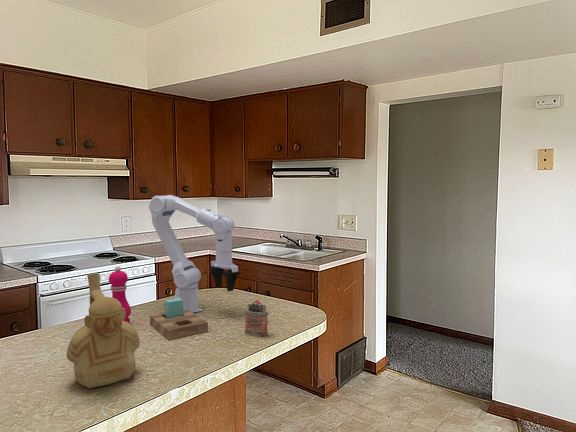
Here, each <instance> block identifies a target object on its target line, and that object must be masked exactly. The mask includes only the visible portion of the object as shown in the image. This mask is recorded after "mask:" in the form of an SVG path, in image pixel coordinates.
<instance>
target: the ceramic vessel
mask: <svg viewBox="0 0 576 432" xmlns="http://www.w3.org/2000/svg"><path fill="white" fill-rule="evenodd" d="M86 278H87V281H88V287H89V290H88V291H89V307H88V315H85V316H84V319H83V320H84V321H83V322H84V325H82V326H81V327H80V328H79V329H77V330H76V331H75V332H74V333H73V335H72V337H71V339H70V341H69V343H68V345H67V350H66V354H65V355H66V358H67V360H68V361H69V362H71V363H73V372H74V377H75V380H76V382H77V383H78V384H80V385H81V386H83V387H86V388H88V389H94V388H98V387H102V386H107V385H111V384H114V383H118V382H121V381H125V380H128V379H129V378H131V377H132V375H133V373H134V372H135V370H136V357H135V351H136V350H137V349H139V347H140V337H139V335H138V332H137V330H136V328H135V327H134V326H133V325H132V324H131V323H130V324H129V323H128V322H126V321H123V320H124V319H125V315H126V310H125V309H124V308H122V305H121V303H120V302H119V301H118V300H117V299H115V298H112V297H111V296H105V294H104V293H103V292H102V286H101V274H100V273H99V272H95V273H91V274H87V277H86Z"/></svg>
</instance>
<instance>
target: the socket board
mask: <svg viewBox="0 0 576 432" xmlns="http://www.w3.org/2000/svg"><path fill="white" fill-rule="evenodd" d="M149 325H150V326H152V327H153V328H154V329H155V331H157V332H159V334H161V335H162V336H163V337H164V338H166V339H167V340H168V341H170V340H176V339H179V338H186V337H189V336H194V335H198V334H203V333H207V332H209V323H208V321H207V320H205V319H203V318H202V317H201V316H198V315H196V314H195V312H194V313H192V312H191V311H189V310H187V309H183V316H180V317H175V318H170V319H165V312H162V313H155V314H149Z"/></svg>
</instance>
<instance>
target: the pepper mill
mask: <svg viewBox="0 0 576 432" xmlns="http://www.w3.org/2000/svg"><path fill="white" fill-rule="evenodd" d="M128 279H129V277H128V274H127V272H125V271H123V270H122V269H121V266H115V268H114V271H112V272H111V273H110V274H109V276H108V283H109V284H110V291H111V292H112V294H111V295H112V298H115V299H117V300H118V301H119V302H120V303H121V305H122V308H124V309H125V310H126V315H125V319H124V320H123V321H126V322H128V323H129V324H131V322H130V321H131V320H130V316H131V313H132V308H131V306H130V303H129V301H128V300H127V296H126V290H127V283H128Z"/></svg>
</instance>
